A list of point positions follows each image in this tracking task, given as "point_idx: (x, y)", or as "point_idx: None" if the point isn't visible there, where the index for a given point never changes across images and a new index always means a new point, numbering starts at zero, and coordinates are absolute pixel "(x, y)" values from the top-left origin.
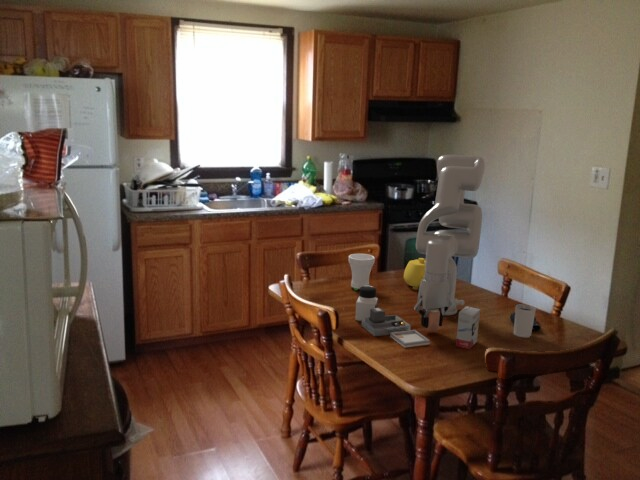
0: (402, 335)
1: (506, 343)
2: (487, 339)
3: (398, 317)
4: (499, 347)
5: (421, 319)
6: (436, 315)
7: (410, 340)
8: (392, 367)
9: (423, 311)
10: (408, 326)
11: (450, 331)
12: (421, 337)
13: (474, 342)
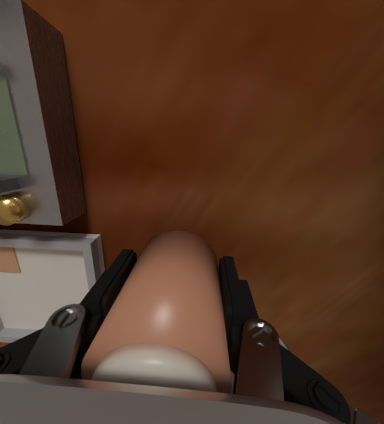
0: (20, 254)
1: (379, 398)
2: (352, 362)
3: (22, 57)
4: None
5: (91, 291)
6: None
7: (39, 304)
8: None
9: (64, 348)
10: (52, 222)
11: (281, 264)
12: None
13: None
